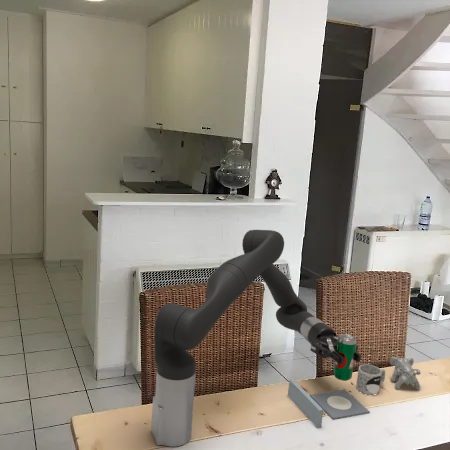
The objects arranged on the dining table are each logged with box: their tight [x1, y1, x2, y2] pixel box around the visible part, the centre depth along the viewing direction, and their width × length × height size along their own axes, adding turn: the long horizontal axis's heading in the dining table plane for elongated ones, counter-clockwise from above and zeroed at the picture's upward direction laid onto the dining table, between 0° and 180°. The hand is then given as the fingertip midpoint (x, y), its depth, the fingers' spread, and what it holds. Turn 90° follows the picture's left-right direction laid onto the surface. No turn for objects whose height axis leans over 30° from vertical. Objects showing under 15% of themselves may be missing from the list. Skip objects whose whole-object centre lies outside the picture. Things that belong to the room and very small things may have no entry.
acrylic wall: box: [287, 378, 324, 429], centre depth 137 cm, size 1×16×5 cm, turn 21°
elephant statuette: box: [389, 356, 421, 391], centre depth 157 cm, size 9×12×8 cm
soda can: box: [333, 333, 358, 382], centre depth 139 cm, size 5×5×12 cm
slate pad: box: [309, 388, 371, 421], centre depth 142 cm, size 12×12×1 cm
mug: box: [355, 363, 386, 396], centre depth 151 cm, size 10×7×7 cm
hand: (350, 360), depth 137 cm, fingers closed on soda can, 5 cm apart
